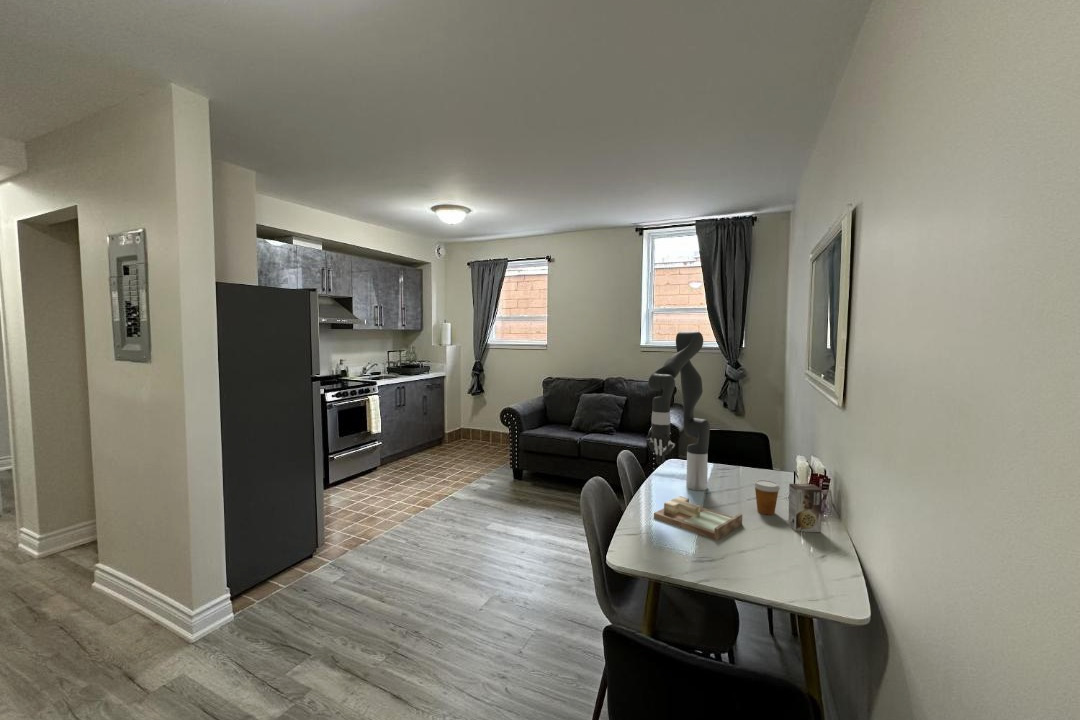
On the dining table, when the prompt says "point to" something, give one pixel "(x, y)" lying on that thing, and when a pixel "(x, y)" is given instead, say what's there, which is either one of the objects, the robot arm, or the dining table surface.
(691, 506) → the t block
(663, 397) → the robot arm
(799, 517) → the cracker box
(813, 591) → the dining table surface
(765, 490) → the disposable coffee cup
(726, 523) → the board
